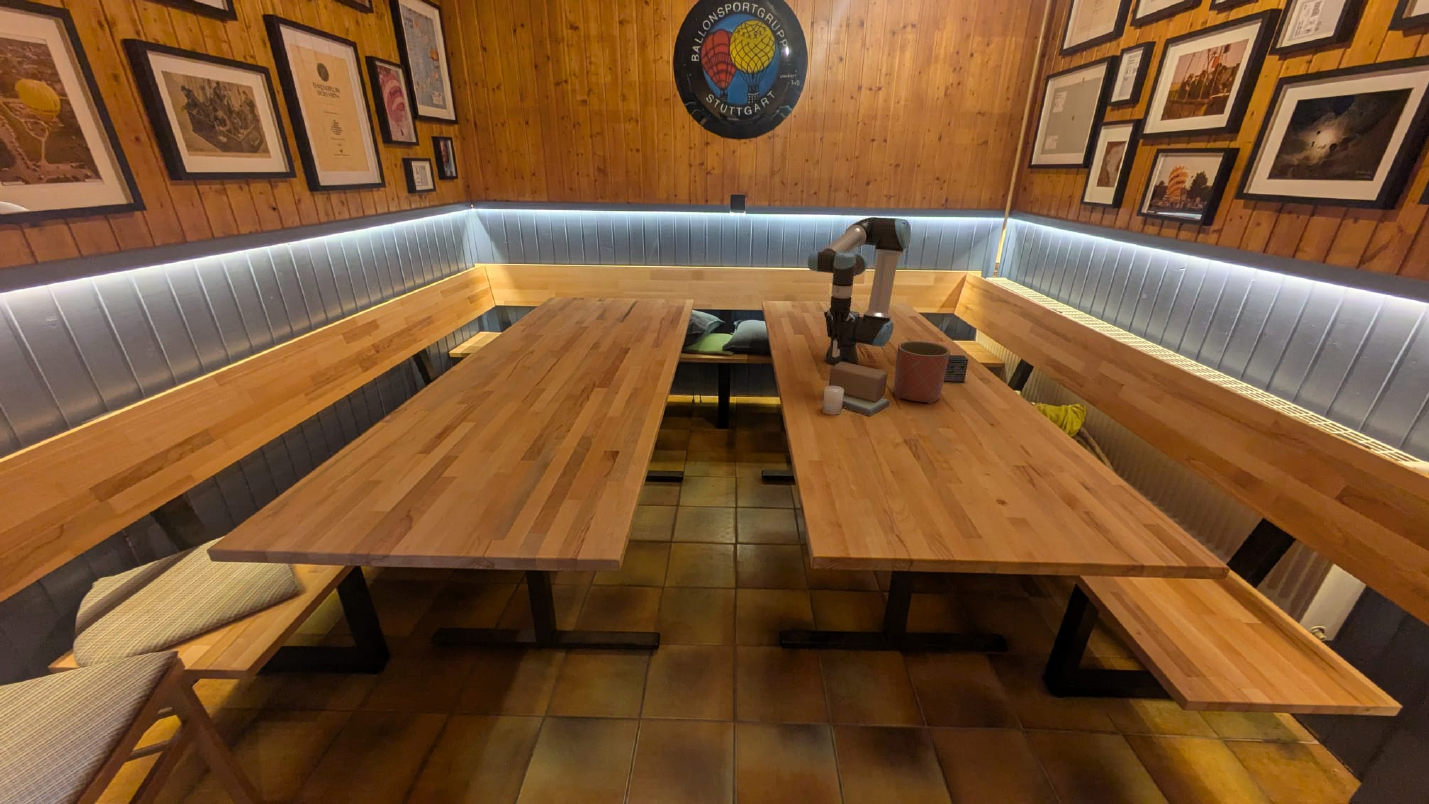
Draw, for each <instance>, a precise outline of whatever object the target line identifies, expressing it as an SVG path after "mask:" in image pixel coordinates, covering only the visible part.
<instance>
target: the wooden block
mask: <svg viewBox="0 0 1429 804" xmlns="http://www.w3.org/2000/svg"><path fill="white" fill-rule="evenodd" d="M888 373H889V372H888V371H886V370H882V369H878V368H874V367H868V366H863V365H860V364H859V365H858V364H856V365H855V364H850V363H846V362H839V363H838V364H836V365H832V367H830V370H829V381H828V386H839V387H842V388H843V389H844V394H845V395H849V396H853V397H857V398H861V399H865V400H869V401H873V402H876V401H877V400H879V399H880V398H883V397H884V395H885V394H886V389H887V382H888Z"/></svg>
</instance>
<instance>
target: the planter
mask: <svg viewBox="0 0 1429 804" xmlns="http://www.w3.org/2000/svg"><path fill="white" fill-rule="evenodd" d="M949 355H951V350H950V349H949V348H948V347H947V346H945V345H944V344H939V343H937V342H932V341H925V340H924V341H923V340H908V341H903V342H900V343H899V344H898V345H897V352H896V361H895V368H894V369H895V370H894V380H893V390H892V391H893V393H894V396H895V397H896V398H897V399H898V400H899V399H900V400H901V399H904V400H908V401H913V402H920V403H922V402H923V403H924V402H925V403H927V404H928V405H929V404H930V405H931V404H933V403H935V402H937V401H938V400H939V399H940V398H941V393H942V389H943V386H944V382H943V381H944V377H945V373H946V368H947V364H948V359H949Z"/></svg>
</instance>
